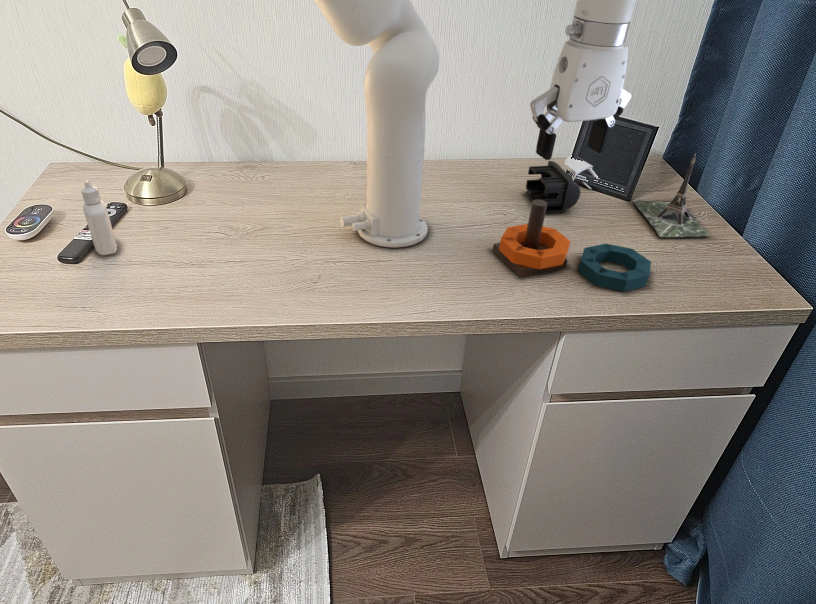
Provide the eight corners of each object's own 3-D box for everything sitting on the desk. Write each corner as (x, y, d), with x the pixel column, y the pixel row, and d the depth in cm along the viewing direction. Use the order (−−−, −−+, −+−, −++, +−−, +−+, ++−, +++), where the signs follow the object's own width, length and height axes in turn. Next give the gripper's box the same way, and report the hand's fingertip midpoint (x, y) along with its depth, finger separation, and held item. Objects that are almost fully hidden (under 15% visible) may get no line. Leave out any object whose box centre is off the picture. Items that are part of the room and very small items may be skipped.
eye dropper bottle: (87, 256, 101) (65, 188, 94) (99, 239, 106) (79, 173, 98) (113, 256, 101) (94, 189, 94) (124, 240, 106) (107, 174, 98)
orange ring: (522, 272, 98) (524, 261, 97) (489, 241, 106) (491, 229, 105) (578, 261, 102) (581, 250, 100) (543, 231, 109) (545, 220, 108)
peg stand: (520, 277, 100) (531, 219, 94) (492, 251, 106) (500, 195, 100) (565, 267, 103) (579, 210, 96) (535, 242, 109) (547, 187, 103)
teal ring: (607, 295, 97) (611, 284, 95) (566, 262, 104) (569, 250, 103) (660, 282, 100) (664, 271, 99) (617, 251, 108) (620, 240, 106)
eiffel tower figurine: (629, 202, 123) (648, 136, 115) (678, 202, 124) (701, 137, 116) (659, 239, 112) (683, 169, 103) (713, 239, 112) (741, 169, 104)
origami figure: (602, 196, 125) (608, 173, 122) (562, 196, 124) (567, 173, 121) (581, 172, 135) (586, 150, 132) (544, 172, 134) (548, 150, 131)
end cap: (576, 213, 119) (584, 180, 114) (541, 215, 118) (548, 182, 113) (556, 191, 126) (563, 159, 122) (523, 193, 125) (529, 161, 121)
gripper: (562, 42, 79) (535, 169, 89) (666, 36, 84) (629, 156, 95) (530, 29, 84) (508, 150, 95) (629, 24, 90) (598, 138, 100)
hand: (569, 153), depth 95 cm, fingers open, 9 cm apart
